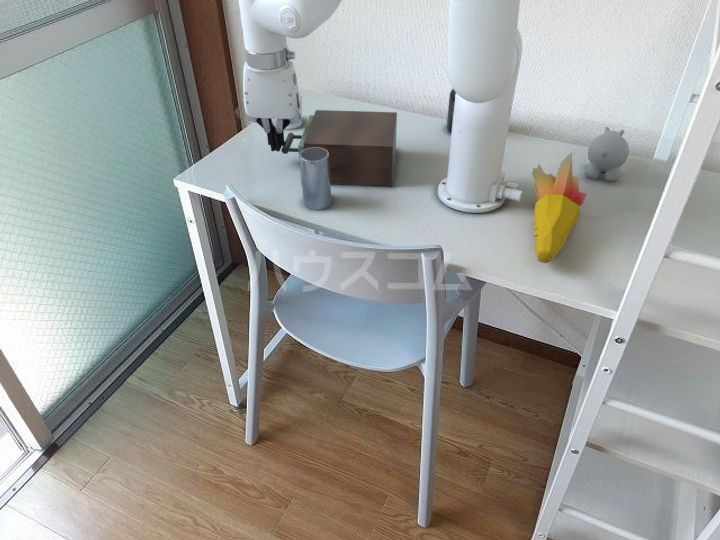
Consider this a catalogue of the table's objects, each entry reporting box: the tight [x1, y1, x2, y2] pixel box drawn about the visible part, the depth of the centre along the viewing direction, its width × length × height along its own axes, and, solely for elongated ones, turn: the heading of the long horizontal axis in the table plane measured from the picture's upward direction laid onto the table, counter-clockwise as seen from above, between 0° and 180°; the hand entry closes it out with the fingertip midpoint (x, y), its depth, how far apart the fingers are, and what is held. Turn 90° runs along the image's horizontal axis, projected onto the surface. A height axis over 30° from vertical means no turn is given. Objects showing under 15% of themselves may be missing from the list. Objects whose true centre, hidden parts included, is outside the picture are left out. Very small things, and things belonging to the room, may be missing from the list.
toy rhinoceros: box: [584, 126, 630, 183], centre depth 112 cm, size 7×12×8 cm, turn 153°
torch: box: [531, 151, 588, 264], centre depth 97 cm, size 8×8×25 cm
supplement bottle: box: [446, 88, 456, 134], centre depth 125 cm, size 7×7×12 cm
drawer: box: [280, 114, 314, 173], centre depth 115 cm, size 20×13×7 cm
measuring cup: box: [298, 147, 333, 211], centre depth 103 cm, size 6×5×10 cm
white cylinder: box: [275, 90, 303, 130], centre depth 130 cm, size 7×7×7 cm
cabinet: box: [303, 109, 398, 188], centre depth 114 cm, size 17×15×9 cm
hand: (276, 148), depth 116 cm, fingers closed
